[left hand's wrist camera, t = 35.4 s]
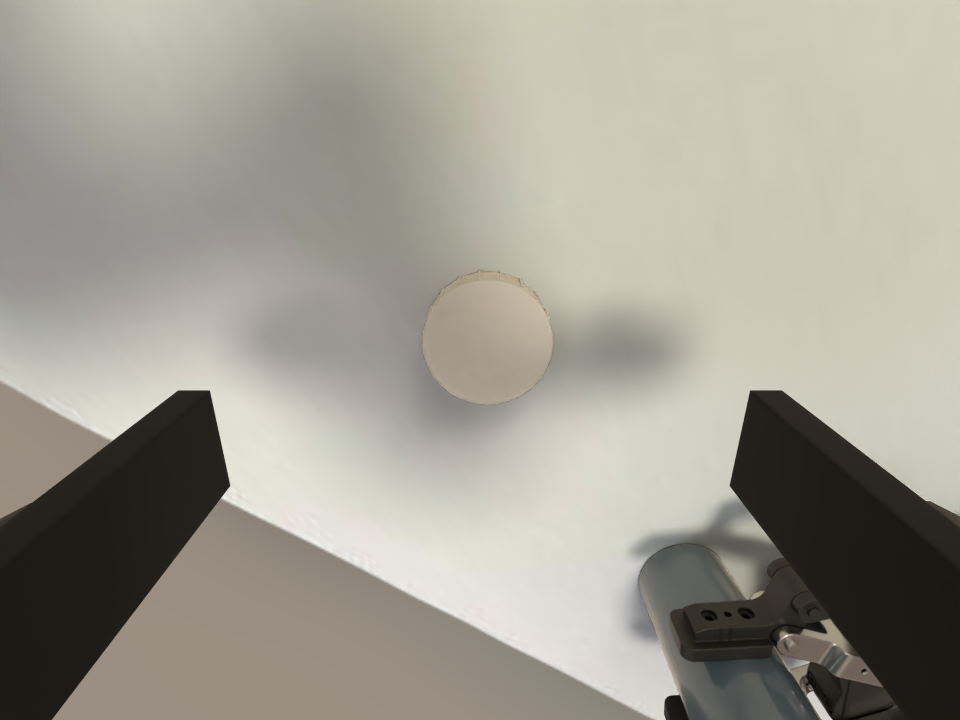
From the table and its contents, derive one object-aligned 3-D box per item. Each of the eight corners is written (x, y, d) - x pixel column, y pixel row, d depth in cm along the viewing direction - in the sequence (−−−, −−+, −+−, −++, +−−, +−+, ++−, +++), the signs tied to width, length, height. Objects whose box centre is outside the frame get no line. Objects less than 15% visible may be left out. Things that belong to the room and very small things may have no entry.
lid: (543, 390, 26) (549, 408, 24) (425, 385, 26) (420, 403, 23) (554, 272, 24) (560, 281, 22) (426, 267, 24) (420, 276, 21)
